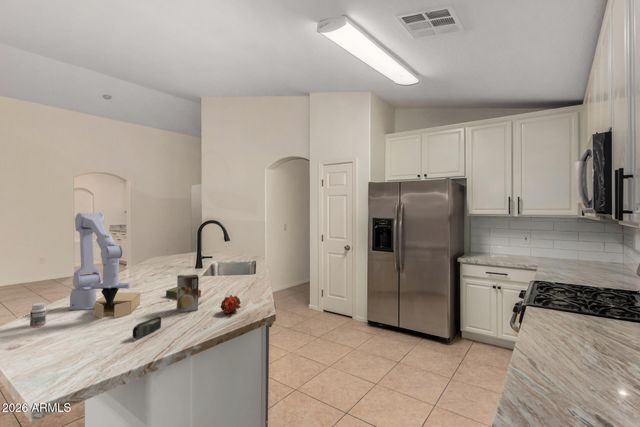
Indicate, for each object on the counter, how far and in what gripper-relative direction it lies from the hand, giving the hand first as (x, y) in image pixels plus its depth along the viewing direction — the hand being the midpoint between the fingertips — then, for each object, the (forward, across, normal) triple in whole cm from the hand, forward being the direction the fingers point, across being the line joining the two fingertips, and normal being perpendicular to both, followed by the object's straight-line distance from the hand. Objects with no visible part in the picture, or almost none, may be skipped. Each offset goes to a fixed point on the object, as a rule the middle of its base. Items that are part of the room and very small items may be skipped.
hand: (109, 305), depth 138 cm
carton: (+6, +25, +31) cm, 40 cm away
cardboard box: (+5, 0, +12) cm, 13 cm away
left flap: (+5, -5, +2) cm, 7 cm away
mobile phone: (+6, +19, -20) cm, 29 cm away
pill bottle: (+6, -23, -5) cm, 24 cm away
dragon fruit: (+6, +50, +2) cm, 50 cm away
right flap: (+5, +4, +2) cm, 7 cm away
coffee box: (+6, +30, +9) cm, 32 cm away
